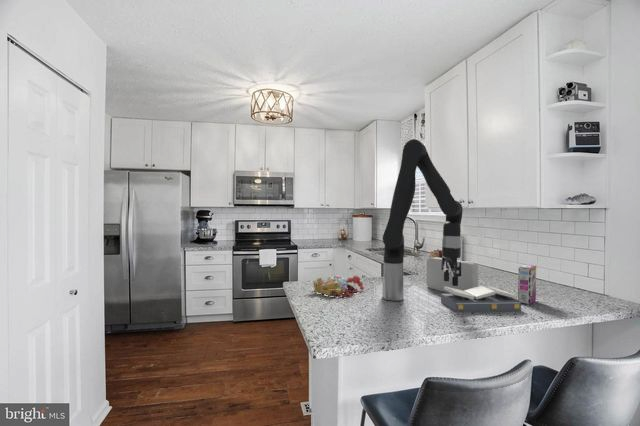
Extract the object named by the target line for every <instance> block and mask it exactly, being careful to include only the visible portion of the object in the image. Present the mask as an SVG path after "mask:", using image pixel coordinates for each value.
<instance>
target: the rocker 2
mask: <svg viewBox="0 0 640 426" xmlns="http://www.w3.org/2000/svg"><path fill="white" fill-rule="evenodd" d="M464 292H466V293H468V294H470V295H472V296H474V298H475V299H480V298H484V297H487V296H491V295H494V294H496V293H495V291H493V290H491V289H488V288H486V287H485V286H483V285H478V287H475V288H471V289H468V290H464Z"/></svg>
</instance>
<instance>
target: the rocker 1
mask: <svg viewBox="0 0 640 426" xmlns="http://www.w3.org/2000/svg"><path fill="white" fill-rule="evenodd" d="M444 289H445V290H447V291H449V292H450V293H449V294H454V295H458V296H462V297H466V298H470V299H474V296H472V295H470V294H468V293H466V292H464V291H462V290H458V289H454V288H450V287H446V286H444Z"/></svg>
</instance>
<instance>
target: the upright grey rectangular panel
mask: <svg viewBox="0 0 640 426" xmlns="http://www.w3.org/2000/svg"><path fill="white" fill-rule="evenodd" d="M457 262H461V276H459V277H458V286H453V285H452V277H453V276H452V273H451V272H449V281H444V273H443V270H441V267H442V257H436V256H435V257H429V258H427V259H426V286H427V288H430V289H433V290H437V291H441V292H444V293H447V294H451V293H450V292H449V291H447V290H445V289H444V286H446V287H450V288H454V289H458V290H462V291H464V290H468V289H471V288H475V287H478V286H479V267H478V264H477V263H476V262H474V261H466V260H460V259H459V260H458V259H457ZM458 273H459V271H458Z"/></svg>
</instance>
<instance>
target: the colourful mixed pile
mask: <svg viewBox="0 0 640 426" xmlns="http://www.w3.org/2000/svg"><path fill="white" fill-rule="evenodd" d="M352 283H354V284H357V286H358V287H359V288H360V289H359V290H364V289H365V287H364V286H363V285H364V284H363V282H362V281H361V278H360V277H359V276H358V275H353V276H352V277H348V278H347V279H346V278H345V277H340V275H339V274H336V275H334V274H332V275H331V276H328V277H327V280H326V281H325V279H322V277H321V278H320V277H319V278H318V277H317V278H316V280H312V284H313V288H314V291H315V293H316V292H318V293H321V294H326V295H328V296H334V297H338V298H337V299H340V298H339V297H342V298H343V297H346V298H350V297H351V296H353V295H355V294H354V293H357V292H359V290H358V289H357V288H355V287H354V285H353V284H352ZM335 288H336V289H335ZM347 288H348V289H347ZM343 293H344V294H343ZM347 296H349V297H347ZM355 296H356V295H355ZM351 298H352V297H351Z"/></svg>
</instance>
